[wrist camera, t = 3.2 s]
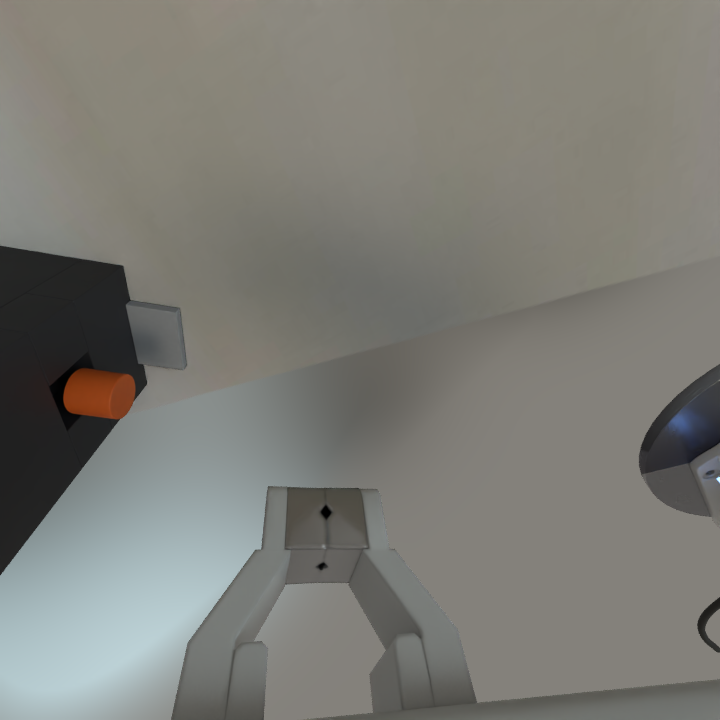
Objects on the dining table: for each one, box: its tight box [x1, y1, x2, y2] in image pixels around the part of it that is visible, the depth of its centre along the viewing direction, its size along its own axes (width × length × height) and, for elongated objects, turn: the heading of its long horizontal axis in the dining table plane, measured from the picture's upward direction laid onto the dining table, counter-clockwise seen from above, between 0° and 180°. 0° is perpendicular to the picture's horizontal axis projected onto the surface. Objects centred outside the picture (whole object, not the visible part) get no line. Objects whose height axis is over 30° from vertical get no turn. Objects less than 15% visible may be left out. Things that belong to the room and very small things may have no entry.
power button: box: [63, 368, 135, 419], centre depth 27 cm, size 3×3×3 cm
